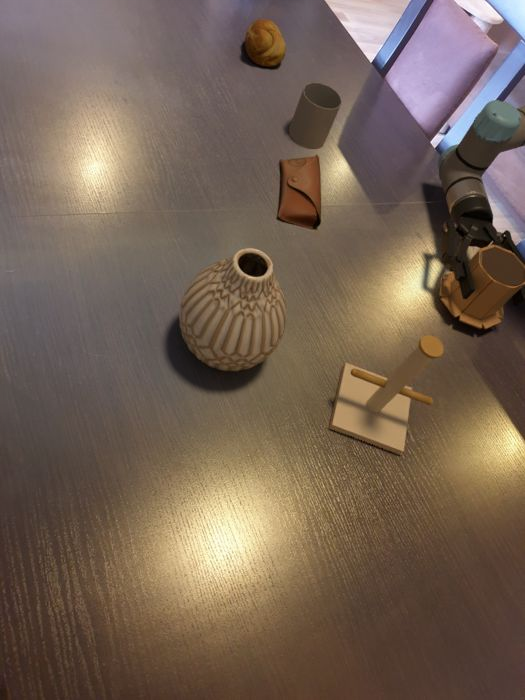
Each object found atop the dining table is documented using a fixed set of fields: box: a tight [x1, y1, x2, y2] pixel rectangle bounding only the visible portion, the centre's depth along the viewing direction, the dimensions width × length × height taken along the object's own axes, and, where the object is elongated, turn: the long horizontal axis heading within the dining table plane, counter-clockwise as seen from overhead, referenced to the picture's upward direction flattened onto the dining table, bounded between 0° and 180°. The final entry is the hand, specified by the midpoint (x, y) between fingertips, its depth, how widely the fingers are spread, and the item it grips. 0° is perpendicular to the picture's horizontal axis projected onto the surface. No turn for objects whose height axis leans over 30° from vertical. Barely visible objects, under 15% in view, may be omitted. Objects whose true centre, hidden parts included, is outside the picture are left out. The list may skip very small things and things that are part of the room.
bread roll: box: [244, 19, 287, 68], centre depth 133 cm, size 13×10×8 cm
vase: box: [178, 247, 287, 372], centre depth 82 cm, size 16×16×20 cm
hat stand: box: [328, 334, 445, 456], centre depth 83 cm, size 13×12×20 cm
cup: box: [288, 82, 343, 150], centre depth 120 cm, size 8×8×10 cm
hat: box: [439, 244, 525, 330], centre depth 103 cm, size 13×13×10 cm
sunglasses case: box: [277, 154, 322, 230], centre depth 112 cm, size 18×7×7 cm, turn 179°
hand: (495, 298), depth 100 cm, fingers closed on hat, 10 cm apart
